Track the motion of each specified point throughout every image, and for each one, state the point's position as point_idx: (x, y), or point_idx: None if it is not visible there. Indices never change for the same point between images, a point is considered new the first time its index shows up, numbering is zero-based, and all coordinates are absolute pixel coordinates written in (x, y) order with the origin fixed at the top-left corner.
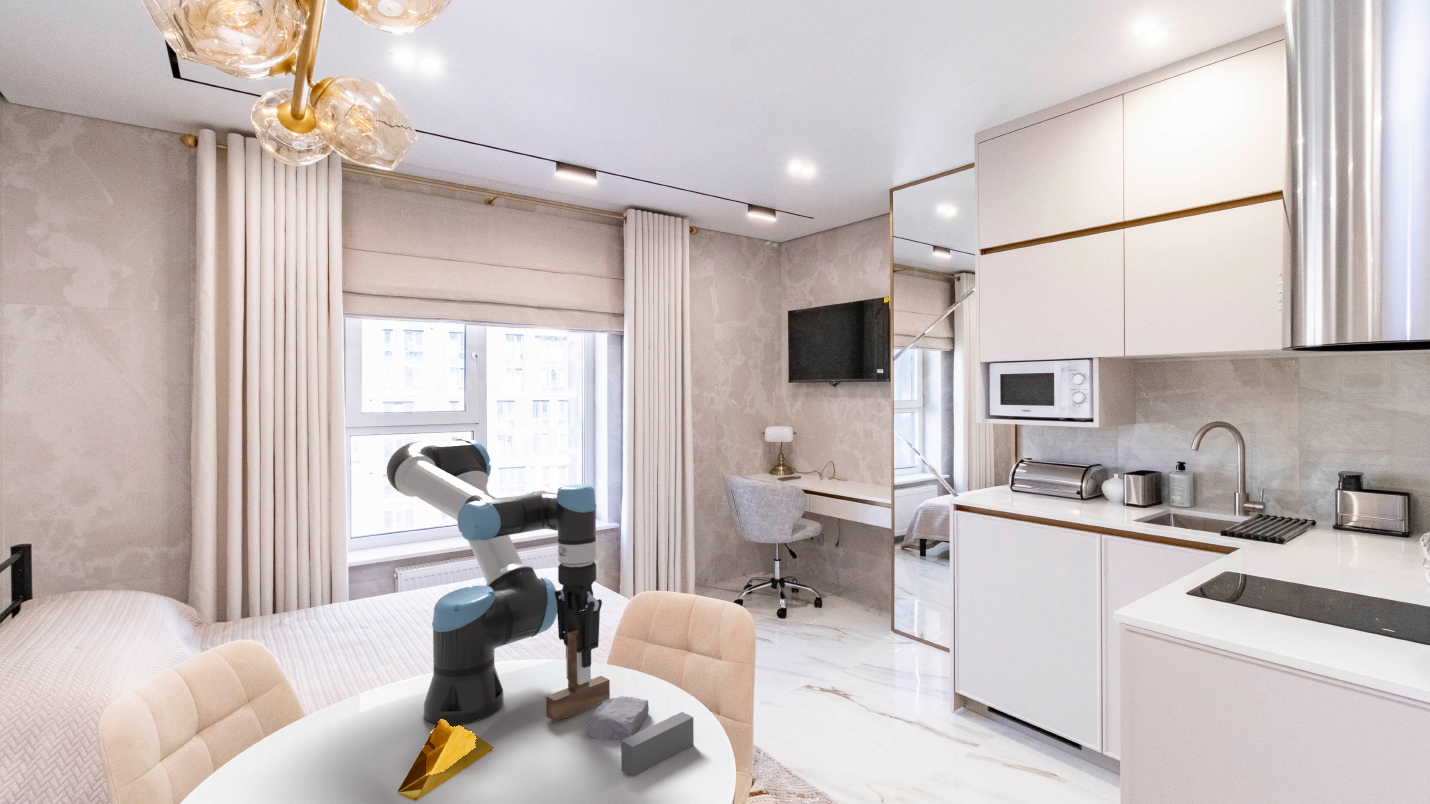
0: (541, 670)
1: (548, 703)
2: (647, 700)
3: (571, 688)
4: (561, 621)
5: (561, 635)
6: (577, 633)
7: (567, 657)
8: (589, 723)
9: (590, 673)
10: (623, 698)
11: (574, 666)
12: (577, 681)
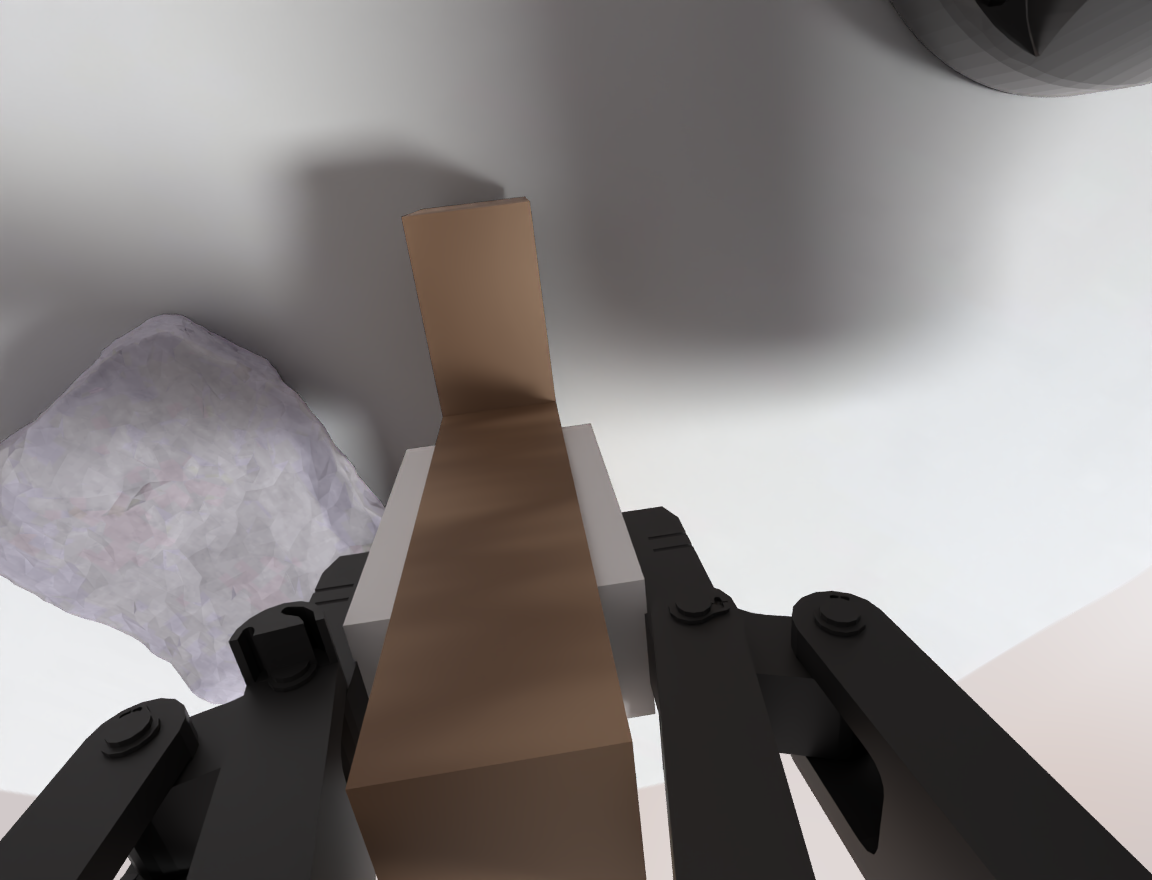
0: (1126, 458)
1: (497, 203)
2: (212, 702)
3: (509, 409)
4: (978, 870)
5: (818, 643)
6: (470, 842)
7: (599, 513)
8: (141, 335)
9: None
10: None
11: (453, 500)
12: (429, 453)
